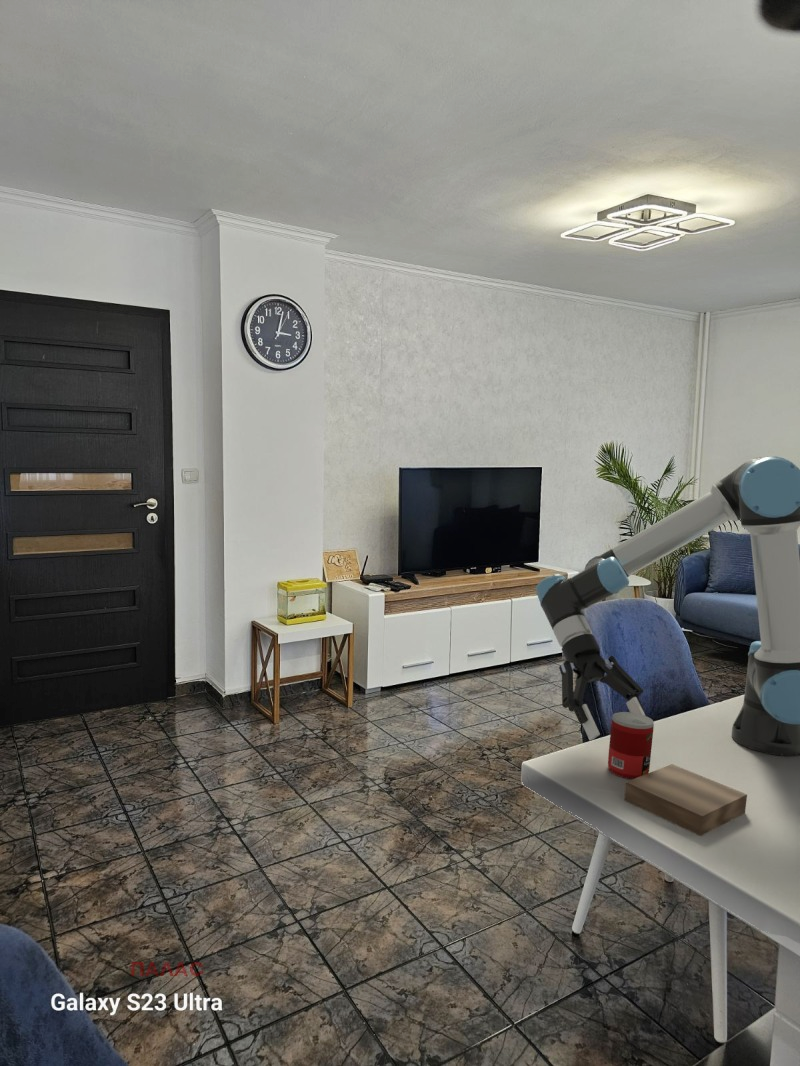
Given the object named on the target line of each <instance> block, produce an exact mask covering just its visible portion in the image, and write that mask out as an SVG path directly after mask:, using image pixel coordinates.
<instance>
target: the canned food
mask: <svg viewBox="0 0 800 1066" xmlns="http://www.w3.org/2000/svg"><path fill="white" fill-rule="evenodd" d="M654 727H655V724H654V720H653V719H652V718H651V717H648V716H646V715H645V716H644V715H641V714H637V713H631V712H630V711H620V712H615V713H612V716H611V722H610V736H609V746H608V747H609V749H608V757H607V767H608V770H609V771H610V772H611V773H612V774H614V775H616V776H618V777H619V778H621V777H622V778H625V779H629V780H632V779H635V778H637V777H640V776H642V775H645V774H648V773H650V765H651V758H652V757H651V755H652V746H653V738H654V737H653V736H654Z"/></svg>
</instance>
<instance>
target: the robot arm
mask: <svg viewBox="0 0 800 1066" xmlns="http://www.w3.org/2000/svg"><path fill="white" fill-rule="evenodd" d="M739 520H740V524H741V527H742V528H743V529H745V530H746V531H747V532H749V535H750V543H751V544H750V546H751V554H752V565H753V575H754V586H755V597H756V604H757V614H758V615H757V616H758V617H757V618H758V625H759V636H760V640H756V641H753V642H751V644H750V646H749V651H748V653H747V656H748V660H747V661H748V662H747V667H746V668H747V669H746V679H745V688H744V695H743V697H744V698H743V705H742V707H741V708H740V710H739V712H738V714H737V716H736V719H735V720H734V721H733V724H732V726H731V727H732V728H731V738H732V739H733V740H734V741H735V742H737V743H738V744H739V745H742V746H744V747H746V748H748V749H751V750H753V751H757V752H761V753H764V754H768V755H769V754H771V755H775V754H776V756H784V755H789V757H790V755H794V756H800V755H799V754H800V549H799V548H800V547H799V540H798V539H799V538H798V536H799V535H798V529H799V527H800V468H799V467H798V466H797V465H796V464H795V463H794V462H792V461H790V460H789V459H786V458H783V457H779V456H764V457H763V456H762V457H761V456H759V457H755V458H751V459H749V460H747V461H745V462H743V463H742V464H741V465H740V466H737V468H735V469H734V470H733V471H732V472H730V473H728V474H727V475H726V476H725V477H723V478H722V479H720V480H718V481H716V482H715V483H714V484H712V485H711V489H710V491H709V492H706V493H705V494H703V495H701V496H700V497H698V498H697V499H695V500H693V501H692V502H691V501H690V503H688V504H686V505H685V506H683V507H681V508H680V509H677V510H676V511H674V512H673V513H671V514H669V515H667V516H666V517H664V518H662V519H661V520H659V521H657V522H655V523H653V524H651V525H650V526H648V527H646V528H645V529H643V530H642V531H640V532H638V533H636V534H634V535H633V536H631V537H629V538H628V539H626V540H624V541H622V542H621V543H619V544H617V545H616V546H614V547H612V548H610V549H609V550H607V551H605V552H603V553H602V554H600V555H597V556H594V557H592V558H590V560H589V561H587V563H586V564H585V567H584V570H582V571H581V572H579V573H577V574H575V575H573V576H571V577H570V578H567V577H566V576H564V575H563V574H557V573H556V574H552V575H551V576H547V577H545V578H543V579H542V580H540V582H539V583H538V584H537V585H536V587H535V592H536V596H537V597H538V601H539V603H540V606H541V609H542V610H543V612H544V614H545V617H546V619H547V620H548V621H547V622H549V623H548V624H549V625H550V627H551V630H552V631H553V634H554V636H555V639H556V640H557V642H558V644H559V646H560V647H561V651H562V653H563V656H564V658H565V661H564V662H563V663H561V664H560V665H559V668H558V669H559V672H560V675H561V702H562V703H561V705H562V708H565V709H567V708H568V711H569V712H571V713H573V712H574V714H575V716H576V719H577V721H578V723H579V724H580V725H582V726H583V729H584V731H585V733H586V736H587V738H588V740H589V741H593V740H595V739H596V738H597V737H599V736H600V735H601V733H600V731H599V729H598V727H597V724H596V723H595V720H594V717H593V716H592V714H591V711H590V709H589V707H588V704H587V703H584V704H583V700H584V698H585V697H584V695H585V692H586V688H587V683H591V682H600V683H602V684H606V686H608V687H610V688H611V689H612V690H613V691H615V692H616V693H618V694H619V695H620V696H621V697H622V698H623V699H625V700H626V702H625V704H626V706H627V708H628V711H629V712H631V713H637V714H641V715H644V716H646V714H645V708H644V707H643V704H642V703H641V702H642V701H641V700H640V698H639V696H641V695H642V694H644V689H643V688H642V686H640V684H638V683H637V682H636V681H635V680H634V679H633V678H632V676H630V674H628V673H627V671H626V670H625V669H624V668H623V667H621V665H620V664H619V663H618V661H617V660H616V658H615V656H613V655H610V656H609V657H608V658H605V659H604V658H603V657H602V655H601V648H600V645H599V643H598V642H597V639H596V637H595V635H593V631H592V629H591V627H590V625H589V622H588V621H587V619H586V616H585V615H584V613H583V611H584V610H586V609H588V608H589V607H591V606H593V605H595V604H597V603H599V602H601V601H602V600H605V599H607V598H609V597H611V596H613V595H614V594H618V593H619V592H620V591H622V590H624V589H625V588H628V586H629V585H630V580H629V577H630V576H631V575H634V574H635V573H638V572H639V571H640V570H642V569H644V568H646V567H648V566H650V565H651V564H653V563H655V562H657V561H659V560H660V559H662V558H664V557H667V555H669V554H672V553H673V552H674V551H676V550H679V549H680V548H682V547H684V546H686V545H687V544H688V543H689V544H690V543H691V542H693V541H695V540H696V539H698V538H699V537H701V536H703V535H705V534H707V533H709V532H711V531H712V530H715V529H716V528H718V527H719V526H721V525H723V524H724V523H725V524H726V522H729V521H732V522H733V521H734V522H737V521H739ZM574 673H575V674H576V677H575V681H574ZM574 683H575V686H574Z"/></svg>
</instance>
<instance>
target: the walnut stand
mask: <svg viewBox="0 0 800 1066" xmlns="http://www.w3.org/2000/svg"><path fill="white" fill-rule="evenodd" d="M747 798H748V794H747V793H745V792H743V791H739V790H737V789H734V788H732V787H729V786H727V785H724V784H722V783H720V782H718V781H715V780H712V779H710V778H707V777H705V776H702V775H700V774H697V773H695V772H693V771H690V770H689V769H685V768H683V767H680V766H677V765H675V764H668V765H666V766H663V767H660V768H658V769H656V770H653V771H651V772H650V771H649V773H648V774H645V775H642V776H640V777H637V778H635V779H629V780H627V781H626V782H625V787H624V798H623V799H624V801H625V802H627V803H630V804H631V805H633V806H635V807H638V808H640V809H642V810H644V811H646V812H648V813H651V814H653V815H655V816H657V817H660V818H662V819H664V820H665V821H668V822H669V823H672V824H674V825H676V826H678V827H681V828H683V829H684V830H687V831H689V832H691V833H693V834H696V835H697V836H700V837H701V836H704V835H705V834H707V833H708V832H711V831H712V830H715V829H717V828H719V827H721V826H722V825H724V824H726V823H728V822H730V821H733V820H735V819H736V818H738V817H740V816H742V815H744V814H746V810H747V809H746V807H747V801H748V800H747Z"/></svg>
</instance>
